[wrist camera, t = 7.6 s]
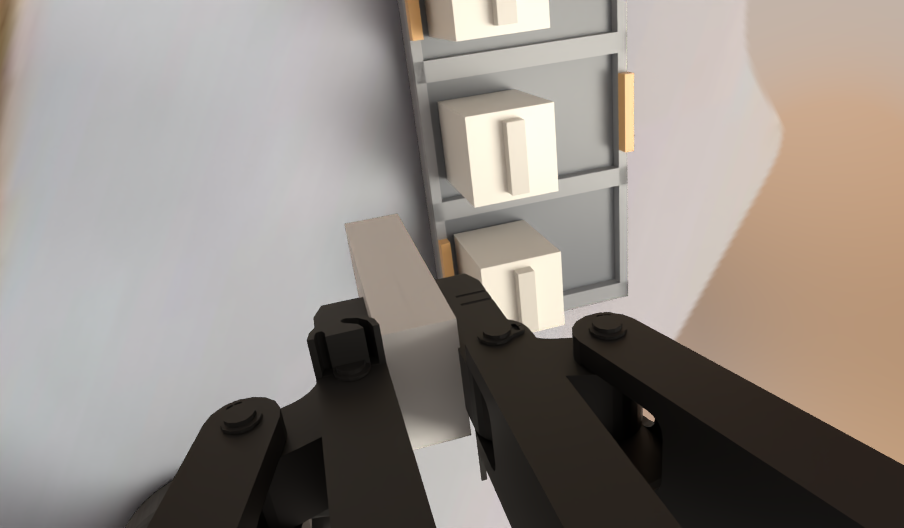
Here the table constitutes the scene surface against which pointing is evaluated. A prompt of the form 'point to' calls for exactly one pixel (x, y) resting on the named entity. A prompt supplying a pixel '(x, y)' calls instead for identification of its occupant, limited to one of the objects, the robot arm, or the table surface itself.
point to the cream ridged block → (499, 146)
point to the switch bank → (576, 125)
